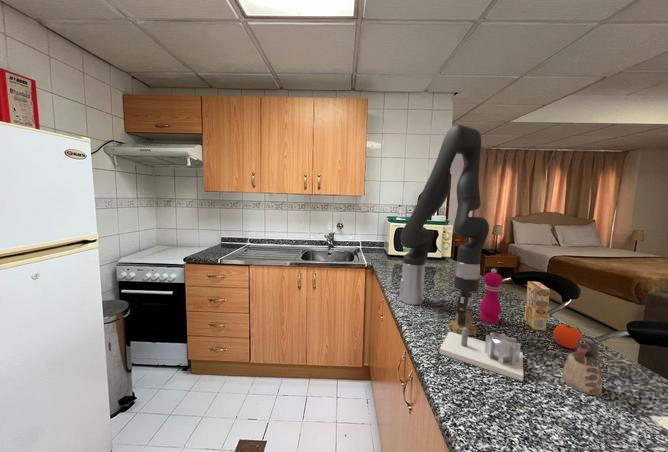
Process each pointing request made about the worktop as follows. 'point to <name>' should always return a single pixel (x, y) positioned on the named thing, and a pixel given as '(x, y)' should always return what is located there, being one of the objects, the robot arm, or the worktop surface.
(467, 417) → the worktop surface
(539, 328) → the candy box
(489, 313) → the pepper mill
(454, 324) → the planet gear
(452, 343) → the carrier plate
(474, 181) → the robot arm
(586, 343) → the figurine
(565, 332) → the clementine
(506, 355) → the sun gear
